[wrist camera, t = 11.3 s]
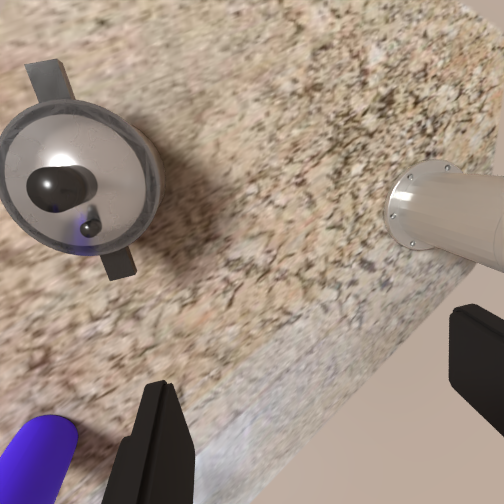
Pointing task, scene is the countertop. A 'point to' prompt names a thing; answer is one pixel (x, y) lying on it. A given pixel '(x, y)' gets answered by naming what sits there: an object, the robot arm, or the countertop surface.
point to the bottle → (37, 461)
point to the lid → (75, 179)
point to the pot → (63, 102)
